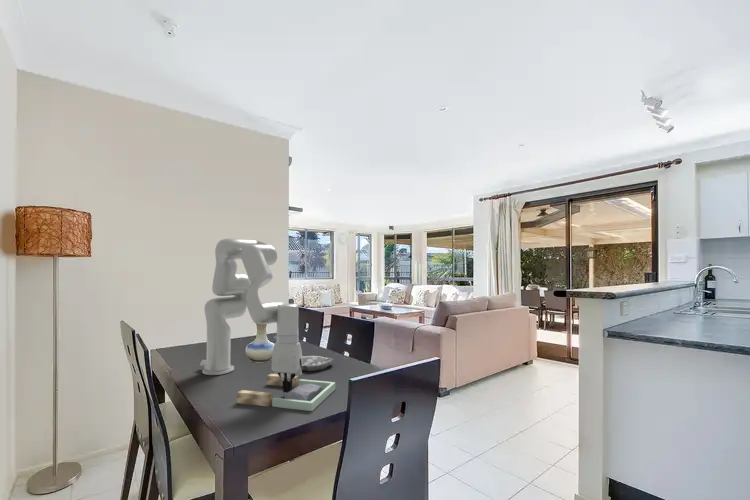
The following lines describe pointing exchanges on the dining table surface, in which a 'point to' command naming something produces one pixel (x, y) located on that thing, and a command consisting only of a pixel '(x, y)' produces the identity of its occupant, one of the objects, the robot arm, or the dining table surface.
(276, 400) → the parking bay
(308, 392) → the stone block
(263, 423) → the dining table surface
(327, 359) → the brain slice
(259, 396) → the blocks
